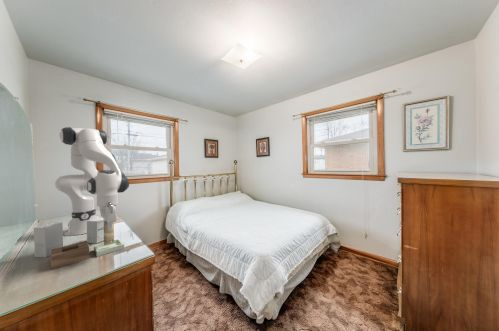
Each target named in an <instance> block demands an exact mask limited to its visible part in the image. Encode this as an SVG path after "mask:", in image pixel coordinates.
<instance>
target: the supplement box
mask: <svg viewBox="0 0 499 331" xmlns="http://www.w3.org/2000/svg"><path fill="white" fill-rule="evenodd" d="M86 241H87V243H88V244H100V243H101V242H104V219H103V218H102V217H99V218H96V219H93V220H89V221H87V233H86Z"/></svg>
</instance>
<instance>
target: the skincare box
mask: <svg viewBox="0 0 499 331" xmlns="http://www.w3.org/2000/svg"><path fill="white" fill-rule="evenodd" d="M63 225H64V224H63V221H50V222H49V223H48V222H47V223H46V224H41V225H38V226H35V227H33V238H34V239H33V240H34V241H33V243H34V244H33V245H34V246H33V247H34V258H48V257H49V256H50V257H51V251H52V249H55V248H59V247H64V231H63V230H64V228H63V227H64V226H63Z"/></svg>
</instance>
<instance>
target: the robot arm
mask: <svg viewBox="0 0 499 331" xmlns="http://www.w3.org/2000/svg"><path fill="white" fill-rule="evenodd" d="M59 138H60V141H61V142H62V143H63V144H64V145H68V146H70V165H71V167H73V168H74V169H75V170H80V171H82V172H83V173H82V174H81V173H80V174H67V175H62V176H58V177H57V179H56V180H55V182H54V185H55V188H56V189H57V190H58V191H60V192H61V193H64V194H65V195H67V196H68V197H69V199H70V201H71V205H72V206H71V209H72V212H71V219H70V220H69V221H68V223H67V227H68V228H67V231H66V232H64V236H78V235H79V236H80V235H83V234H87V221H89V220H93V219H96V218H103V219H104V221H106V222H107V229H108V230H110V229H112V224H113V222H114V223H115V222H117V210H116V209H117V208H116V207H117V206H116V205H118V204H119V203H120V202H119V193H121V194H122V193H124V192H126V191H127V190H128V189H129V187H130V181H129V179H128V177H127V176H126V174H125V173H124V171H123V170H122V167H121V166H120V164H119V162H118V160H117V158H116V156H115V155H114V154H113V153H112V152H111V151H109V150H108V149H107V148H106V147H105V144H107V142H108V139H109V138H108V135H107V132H106V131H105V130H103V129H95V128H89V127H69V126H68V127H63V128H61V130H60V132H59ZM95 162H96V163H100V164H103V165H105V166H106V167H108V168H109V169H102V170H98V169H97V168H96V165H95ZM83 191H87V192H88V193H90V194H91V195H88V194H84V193H83ZM92 195H96V204H95V197H94V196H92ZM95 205H96V206H95ZM96 207H99V213H100V216H101V217H99V216H98V215H97V214H96V213H97V212H96V209H95V208H96Z"/></svg>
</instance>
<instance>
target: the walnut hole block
mask: <svg viewBox="0 0 499 331" xmlns="http://www.w3.org/2000/svg"><path fill="white" fill-rule="evenodd" d="M89 259H90V246H89V243H87V240H85V241H80V242H75V243H72V244H69V245H63V247H59V248H55V249H52V251H51V255H50V270H52V271H53V270H54V269H59V268H61V267H65V266H68V265H71V264H76V263H78V262H81V261H86V260H89Z"/></svg>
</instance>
